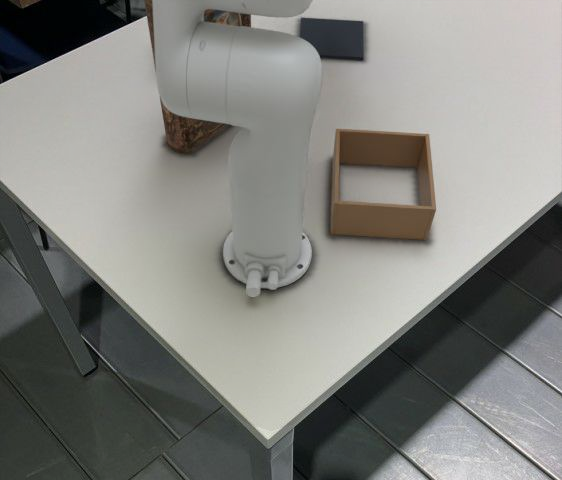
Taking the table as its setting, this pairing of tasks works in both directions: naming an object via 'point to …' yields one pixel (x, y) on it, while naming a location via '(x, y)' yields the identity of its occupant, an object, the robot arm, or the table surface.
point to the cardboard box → (381, 216)
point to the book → (185, 130)
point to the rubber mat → (334, 37)
